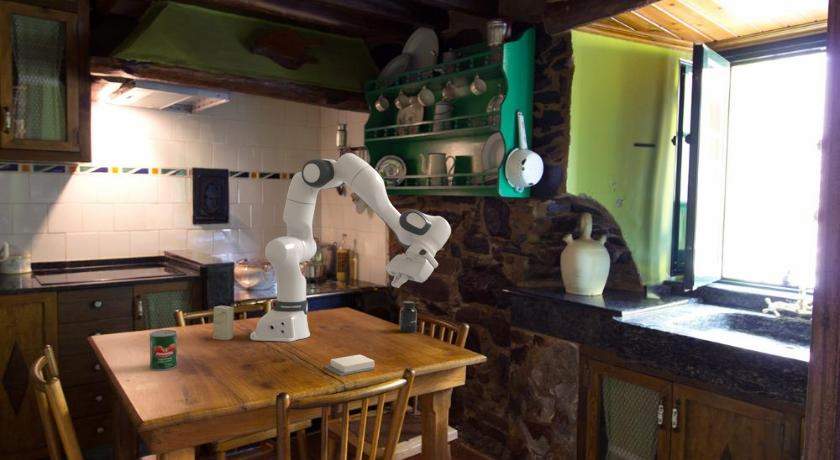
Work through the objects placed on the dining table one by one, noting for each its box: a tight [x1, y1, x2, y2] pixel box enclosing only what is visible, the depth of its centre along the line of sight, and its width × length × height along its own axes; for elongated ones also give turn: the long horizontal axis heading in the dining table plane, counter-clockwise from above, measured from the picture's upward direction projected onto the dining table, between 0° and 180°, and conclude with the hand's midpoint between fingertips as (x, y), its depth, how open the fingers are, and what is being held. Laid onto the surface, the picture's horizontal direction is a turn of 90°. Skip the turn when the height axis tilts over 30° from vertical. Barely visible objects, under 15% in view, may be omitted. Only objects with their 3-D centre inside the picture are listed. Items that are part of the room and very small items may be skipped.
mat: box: [323, 364, 375, 377], centre depth 191 cm, size 12×11×1 cm
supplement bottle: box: [399, 300, 418, 334], centre depth 243 cm, size 7×7×12 cm
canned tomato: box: [149, 329, 178, 372], centre depth 189 cm, size 8×8×11 cm
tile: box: [330, 354, 376, 373], centre depth 192 cm, size 2×9×11 cm
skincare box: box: [212, 305, 234, 341], centre depth 226 cm, size 6×4×12 cm
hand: (394, 286), depth 202 cm, fingers closed
